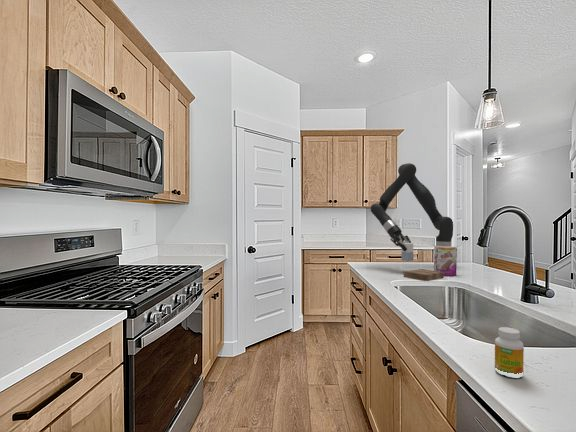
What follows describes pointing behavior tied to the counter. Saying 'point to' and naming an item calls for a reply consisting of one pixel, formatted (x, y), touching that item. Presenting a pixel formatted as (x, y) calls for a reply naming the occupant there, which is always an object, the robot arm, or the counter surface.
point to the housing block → (407, 252)
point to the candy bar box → (445, 260)
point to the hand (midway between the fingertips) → (408, 249)
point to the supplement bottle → (509, 351)
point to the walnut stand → (423, 274)
